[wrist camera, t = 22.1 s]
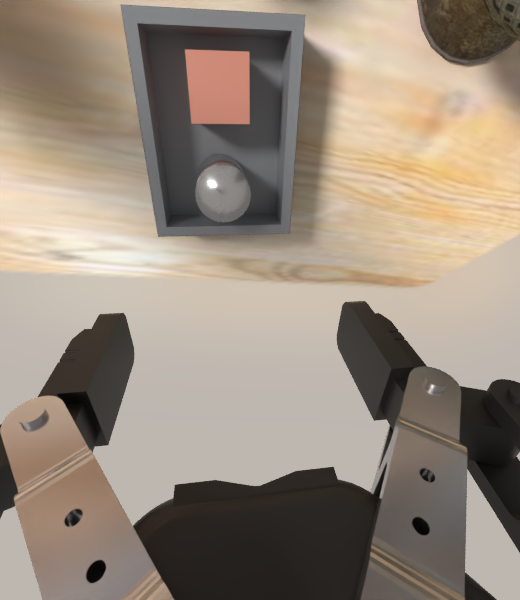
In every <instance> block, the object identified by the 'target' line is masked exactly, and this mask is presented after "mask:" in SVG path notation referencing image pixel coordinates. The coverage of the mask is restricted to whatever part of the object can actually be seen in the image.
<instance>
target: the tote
mask: <svg viewBox="0 0 520 600" xmlns="http://www.w3.org/2000/svg"><path fill="white" fill-rule="evenodd" d="M121 10H122V17H123V23H124V29H125V35H126V41H127V47H128V54H129V60H130V66H131V72H132V78H133V84H134V91H135V97H136V103H137V109H138V115H139V121H140V128H141V134H142V140H143V146H144V152H145V158H146V164H147V171H148V177H149V183H150V189H151V195H152V201H153V208H154V214H155V220H156V226H157V232H158V237H164V236H205V235H245V234H285V233H290V220H291V206H292V192H293V178H294V165H295V151H296V137H297V123H298V110H299V96H300V82H301V68H302V55H303V41H304V27H305V15H299V14H280V13H262V12H244V11H226V10H208V9H190V8H171V7H153V6H135V5H121ZM185 49H187V50H216V51H245V52H249V79H250V124H192V123H191V112H190V100H189V89H188V78H187V67H186V56H185ZM214 154H226V155H229V156H231V157H232V158H234V159H235V160H236V161H237V162H238V163H239V165H240V166H241V168H242V170H243V173H244V175H245V177H246V179H247V182H248V184H249V187H250V192H251V198H250V203H249V206H248V208H247V210H246V211H245V212H244V214H243V215H242V216H240V217H239V218H238V219H236V220H233V221H230V222H217V221H214V220H212V219H210V218H208V217H207V216H205V215H204V214H203V213H202V211H201V210H200V208H199V207H198V205H197V202H196V197H195V189H196V182H197V176H198V170H199V167H200V165H201V164H202V162H203V161H204V160H205V159H206V158H207V157H209V156H211V155H214Z"/></svg>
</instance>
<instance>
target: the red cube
mask: <svg viewBox="0 0 520 600" xmlns="http://www.w3.org/2000/svg"><path fill="white" fill-rule="evenodd" d="M185 56H186V67H187V78H188V89H189V100H190V112H191V123H192V124H250V79H249V52H245V51H216V50H187V49H185Z"/></svg>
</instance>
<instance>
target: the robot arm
mask: <svg viewBox="0 0 520 600" xmlns="http://www.w3.org/2000/svg"><path fill="white" fill-rule="evenodd" d="M337 345H338V349H339V351H340V353H341V355H342V357H343V359H344V361H345V363H346V365H347V367H348V369H349V371H350V373H351V375H352V377H353V379H354V381H355V383H356V385H357V387H358V389H359V391H360V393H361V395H362V397H363V399H364V401H365V403H366V405H367V407H368V409H369V411H370V413H371V415H372V417H373V419H374V420H384V419H387V421H388V423H389V424H390V426H389V429H388V432H387V435H386V439H385V443H384V446H383V451H382V454H381V458H380V461H379V465H378V469H377V473H376V476H375V480H374V483H373V486H372V489H371V492H369V491H367V490H365V489H363V488H362V487H360V486H357V485H355V484H352V483H349V482H346V481H342V480H338V479H337V476H336V473H335V470H334V467H328V468H320V469H311V470H302V471H295V472H293V473H290V474H288V475H286V476H283V477H281V478H279V479H276V480H273V481H271V482H269V483H266V484H263V485H261V486H249V485H243V484H236V483H230V482H224V481H217V480H213V481H204V482H195V483H187V484H178V485H175V490H174V498H173V499H171V500H168V501H166V502H164V503H162V504H160V505H159V506H157V507H155V508H154V509H152V510H151V511H150V512H148V513H147V514H146V515H144V516H143V517H142V518H141V519H140V520H138V521H137V522H136V523H135V525H133V526H132V524H131V522H130V520H129V518H128V517H127V515H126V513H125V511H124V509H123V508H122V506H121V504H120V502H119V500H118V498H117V497H116V495H115V493H114V491H113V489H112V487H111V486H110V484H109V482H108V480H107V478H106V477H105V475H104V473H103V471H102V469H101V467H100V466H99V464H98V462H97V460H96V458H95V456H94V455H93V453H92V452H93V449H94V446H103V445H108V444H109V441H110V437H111V434H112V431H113V428H114V425H115V421H116V418H117V415H118V411H119V408H120V405H121V402H122V398H123V395H124V392H125V389H126V386H127V382H128V379H129V376H130V373H131V369H132V366H133V363H134V347H133V343H132V339H131V335H130V331H129V327H128V323H127V320H126V316H125V315H124V313H114V314H100V315H99V316H98V318H97V320H96V322H95V323H94V325H93V327H92V329H84V330H83V331H82V332H81V333H79V334H78V335H77V336H76V337H74V338H73V339H72V340H71V342H70V344H69V346H68V347H67V349H66V350H65V353H64V354H63V355H62V357H61V359H60V362H59V363H58V364H57V365H56V367H55V369H54V371H53V372H52V374H51V376H50V377H49V379H48V381H47V382H46V384H45V386H44V387H43V389H42V391H41V392H40V394H39V396H38V397H37V398H34V399H31V400H29V401H27V402H25V403H23V404H21V405H20V406H18V407H17V408H15V409H14V410H13V411H12V412H11V413H10V414H9V415H8V416H7V417H6V418H5V420H4V421H3V423H2V424H1V425H0V518H1V516H2V513H3V511H4V510H7V509H9V508H12V507H14V506H16V510H17V513H18V517H19V520H20V524H21V527H22V530H23V534H24V537H25V541H26V544H27V548H28V551H29V554H30V558H31V561H32V565H33V568H34V572H35V575H36V578H37V582H38V585H39V589H40V592H41V596H42V599H43V600H496V599H495V598H494V597H493V596H492V595H491V594H490V593H488V592H487V591H486V590H485V589H484V588H483V587H481V586H480V585H479V584H478V583H477V582H476V581H474V580H473V579H472V578H471V577H470V576H469V575H468V574H466V573H465V544H466V498H467V496H466V495H467V469H468V470H469V472H470V474H471V475H472V477H473V478H474V480H475V482H476V483H477V485H478V486H479V488H480V490H481V491H482V493H483V494H484V496H485V498H486V499H487V501H488V502H489V504H490V506H491V507H492V509H493V510H494V512H495V514H496V515H497V517H498V518H499V520H500V522H501V523H502V525H503V526H504V528H505V529H506V531H507V533H508V535H509V536H510V538H511V539H512V541H513V543H514V544H515V546H516V547H517V549H518V550H519V552H520V461H519V460H518V458H517V457H516V456H517V455H518V453H519V452H520V383H518V382H515V381H511V380H505V379H504V380H503V379H501V380H496V381H494V382H492V383H491V385H490V386H489V388H488V390H487V391H485V390H479V389H473V388H467V387H461V386H459V384H458V383H457V382H456V381H455V380H454V379H453V378H452V377H451V376H450V375H448V374H447V373H445V372H443V371H441V370H438V369H436V368H432V367H427V366H426V365H425V363H424V362H423V361H422V360H421V358H420V357H419V356H418V355H417V353H416V352H415V351H414V350H413V348H412V347H411V346H410V345H409V344H408V342H407V341H406V340H404V337H403V336H402V334H401V333H400V332H398V329H397V328H396V327H395V326H394V325H393V323H392V322H391V321H390V320H388V319H387V318H385V317H384V316H382V315H381V314H379V313H378V314H377V313H376V314H375V313H374V312H373V310H372V309H371V308H370V306H369V305H368V304H367V303H366V302H365V301H358V302H345V303H344V304H343V306H342V311H341V316H340V321H339V327H338V332H337Z"/></svg>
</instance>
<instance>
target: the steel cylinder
mask: <svg viewBox="0 0 520 600" xmlns="http://www.w3.org/2000/svg"><path fill="white" fill-rule="evenodd" d="M195 197H196V202H197V205H198V207H199V208H200V210H201V211H202V213H203V214H204V215H205V216H207V217H208V218H210V219H212V220H214V221H217V222H230V221H233V220H236V219H238V218H239V217H240V216H242V215H243V214H244V212H245V211H246V210H247V208H248V206H249V203H250V198H251V192H250V187H249V184H248V182H247V179H246V177H245V175H244V173H243V170H242V168H241V166H240V165H239V163H238V162H237V161H236V160H235V159H234V158H232V157H231V156H229V155H226V154H214V155H211V156H209V157H207V158H206V159H205V160H204V161H203V162H202V164H201V165H200V167H199V170H198V176H197V182H196V189H195Z"/></svg>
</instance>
